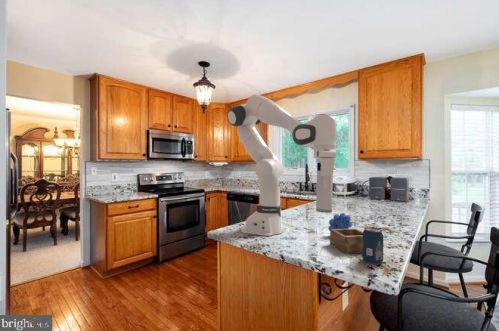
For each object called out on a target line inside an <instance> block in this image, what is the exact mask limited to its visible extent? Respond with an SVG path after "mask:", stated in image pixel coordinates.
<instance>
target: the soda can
mask: <svg viewBox="0 0 499 331" xmlns="http://www.w3.org/2000/svg"><path fill="white" fill-rule="evenodd" d="M362 232H363V243H362V254H361V256H362V259H363V261H364V262H366V263H367V264H371V265H381V264H382V263H383V261H384V234H383V232H382V229H380V228H378V227H377V228H376V227H364V229H363V231H362Z"/></svg>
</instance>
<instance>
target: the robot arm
mask: <svg viewBox="0 0 499 331" xmlns="http://www.w3.org/2000/svg"><path fill="white" fill-rule="evenodd" d="M226 116H227V120H228V123H229V124H230V125H232V127H237V129H236V134H237V135H238V138H239V140H240V142H241V144H242V145H243V147H244V149H245V151H246V152H247V153H248V156H250V158H251V159H252V160H253V161H254V162H255V163H256V164H255V167H254V172H255V175H256V176H257V182H258V186H259V203H257V204H256V205H255V211H254V212H253V213H252V214H251V215H249V216H248V217H247V218H246V219H245V224H244V225H243V226H242V227H241V228H240V232H241V233H243V234H250V235H258V236H265V237H270V236H274V235H279V234H282V233H283V232H284V230H283V227H282V221H281V218H282V217H281V215H282V205H281V190H280V185H279V178H280V177H281V176H282V174H283V173H284V171H285V170H284V164H282V162H281V161H280V160H279V158H278V157H277V156H276V155H275V154H274V152H273V151H272V150H271V149H270V147H269V146H268V145H267V143H266V142H265V140H264V139H263V138H262V136H261V135H260V133H259V132H258V130H257V127H256V125H260V124H261V122H263V123H264V124H267V125H269V126H273V127H277V128H282V129H285V130H288V131H290V132H291V133H292V135H291V136H292V137H291V138H292V140H293V142H294V143H295V145H298V146H300V147H303V148H308V149H312V150H313V158H314V159H316V162H317V163H321V170H320V175H321V176H322V177H323V188H328V182H329V177H332V176H333V177H334V175H333V174H334V170H335V169H334V168H335V159H336V158H337V144H336V143H337V142H336V138H337V131H338V130H337V122H336V118H335V117H334V116H332V115H330V114H326V113H323V114H322V113H320V114H316V115H315V117H313V118H312V119H310V120H308V121H306V122H302V121H300V120H299V119H297V118H295V117H293V116H292V115H291V114H289V113H288V112H287V111H286V110H284V109H283V108H282V107H281V106H280V105H279V104H277V103H276V102H275V101H273V100H272V99H269V97H268V98H267V97H266V96H263V95H260V94H257V93H256V94H252V95H251V96H249V97H248V98H247V100H246V103H242V104H238V105H235V106H232V107H231V108H229V109H228V111H227V115H226Z"/></svg>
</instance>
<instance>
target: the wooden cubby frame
mask: <svg viewBox="0 0 499 331" xmlns="http://www.w3.org/2000/svg"><path fill="white" fill-rule="evenodd" d="M329 234H330V235H329V239H330V240H329V245H331V246H332V247H333V248H335V249H336V250H338V251H340V252H341V253H342V254H357V253H359V254H361V253H362V243H363V231H362V230H360V229H358V228H349V229H330V231H329Z"/></svg>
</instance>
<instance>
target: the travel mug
mask: <svg viewBox="0 0 499 331" xmlns="http://www.w3.org/2000/svg"><path fill="white" fill-rule="evenodd" d="M316 168H317V169H316V195H315V196H316V197H315V198H316V200H315V202H316V204H315V207H316V208H315V210H316V212H319V213H326V214H327V213H332V212H333V189H334V186H333V181H334V179H333V178H334V175H333V176H332V177H329V182H328V188H323V177H322V176H321V175H320V170H321V163H318V162H317V164H316Z"/></svg>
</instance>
